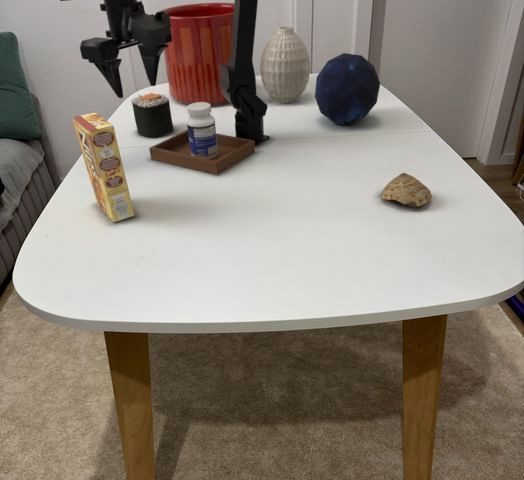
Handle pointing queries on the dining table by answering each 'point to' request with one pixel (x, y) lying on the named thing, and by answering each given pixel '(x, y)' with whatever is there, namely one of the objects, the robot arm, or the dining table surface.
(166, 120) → the sushi
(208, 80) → the planter
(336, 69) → the decorative orb
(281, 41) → the vase
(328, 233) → the dining table surface
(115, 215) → the candy box
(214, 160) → the tray
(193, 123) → the pill bottle
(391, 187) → the seashell
